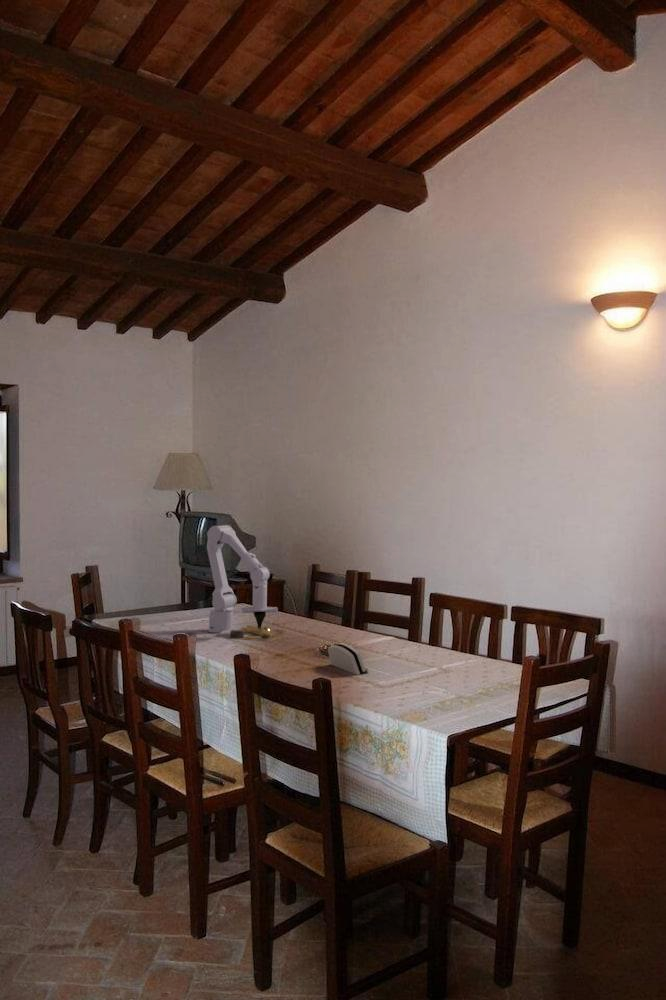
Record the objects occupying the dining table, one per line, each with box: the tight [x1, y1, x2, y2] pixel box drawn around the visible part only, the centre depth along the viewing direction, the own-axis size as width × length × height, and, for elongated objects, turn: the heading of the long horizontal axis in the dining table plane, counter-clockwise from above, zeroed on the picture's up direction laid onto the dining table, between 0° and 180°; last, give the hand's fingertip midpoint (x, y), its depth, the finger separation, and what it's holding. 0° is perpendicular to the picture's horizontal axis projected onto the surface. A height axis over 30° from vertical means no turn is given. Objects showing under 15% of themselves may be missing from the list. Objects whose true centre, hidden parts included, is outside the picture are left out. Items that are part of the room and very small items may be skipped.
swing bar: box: [246, 624, 271, 637], centre depth 335 cm, size 14×3×3 cm, turn 38°
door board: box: [225, 627, 287, 642], centre depth 337 cm, size 19×23×4 cm
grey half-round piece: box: [327, 642, 369, 676], centre depth 288 cm, size 17×5×10 cm, turn 33°
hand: (259, 630), depth 339 cm, fingers closed, pressing on swing bar
